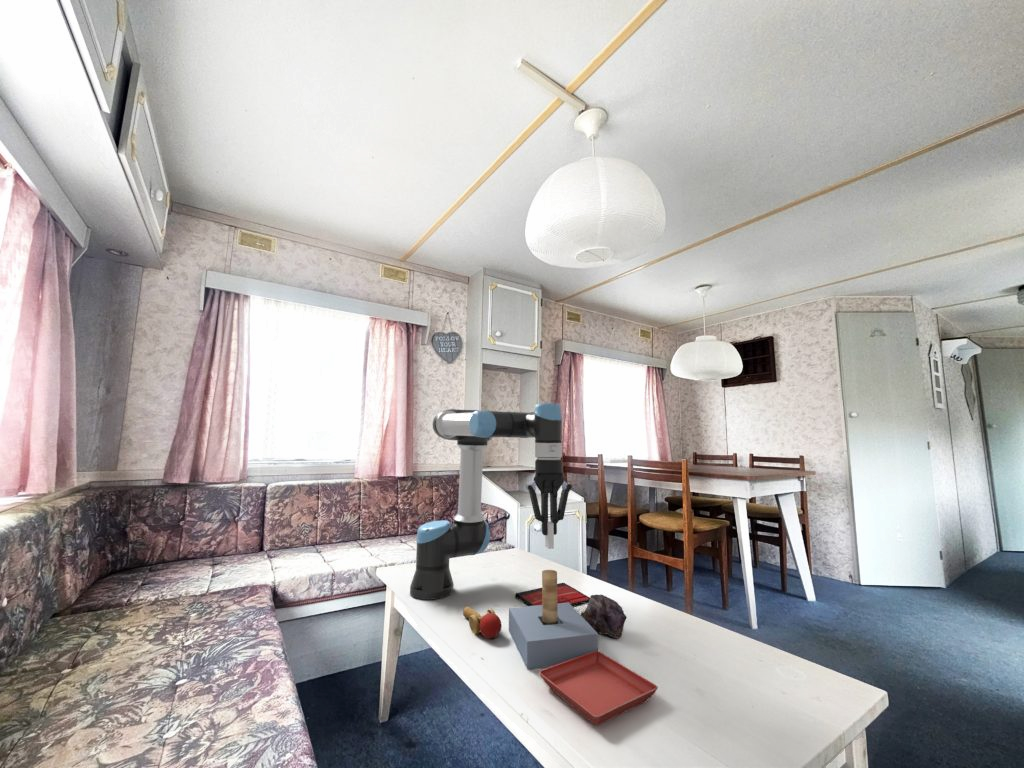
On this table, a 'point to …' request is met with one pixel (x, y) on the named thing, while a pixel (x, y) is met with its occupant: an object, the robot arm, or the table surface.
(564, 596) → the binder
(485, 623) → the kendama
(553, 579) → the peg
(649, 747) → the table surface
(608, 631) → the rock
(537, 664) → the board
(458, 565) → the table surface
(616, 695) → the plant saucer
